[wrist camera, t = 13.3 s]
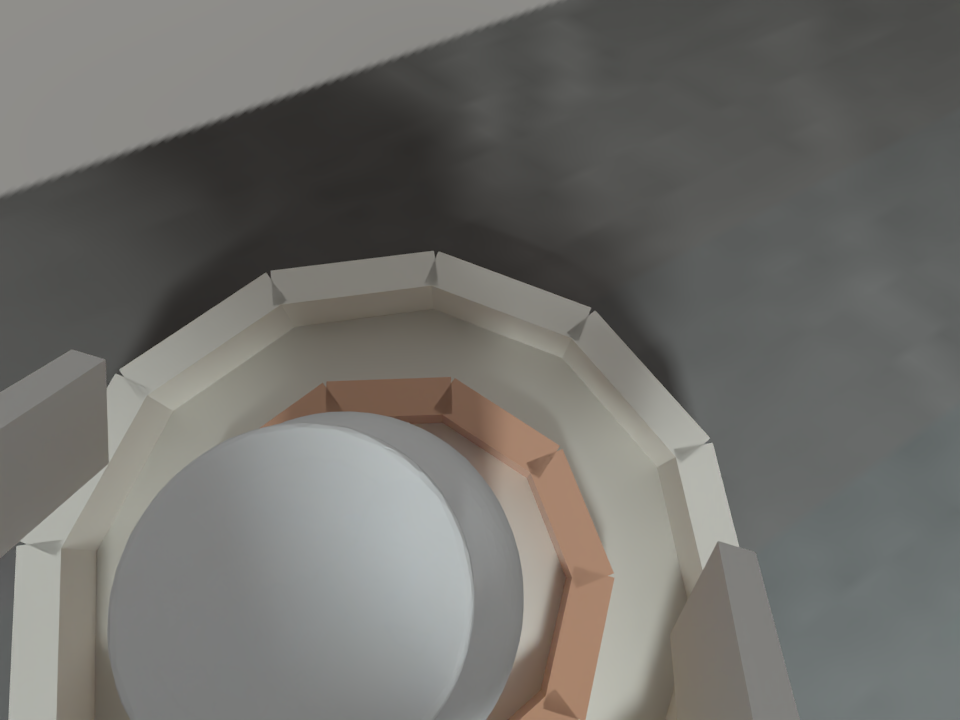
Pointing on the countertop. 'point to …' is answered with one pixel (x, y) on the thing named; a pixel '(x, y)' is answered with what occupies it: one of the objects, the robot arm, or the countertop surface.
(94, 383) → the robot arm
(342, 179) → the countertop surface
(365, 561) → the supplement bottle
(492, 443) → the ceramic tray
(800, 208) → the countertop surface
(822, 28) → the countertop surface
